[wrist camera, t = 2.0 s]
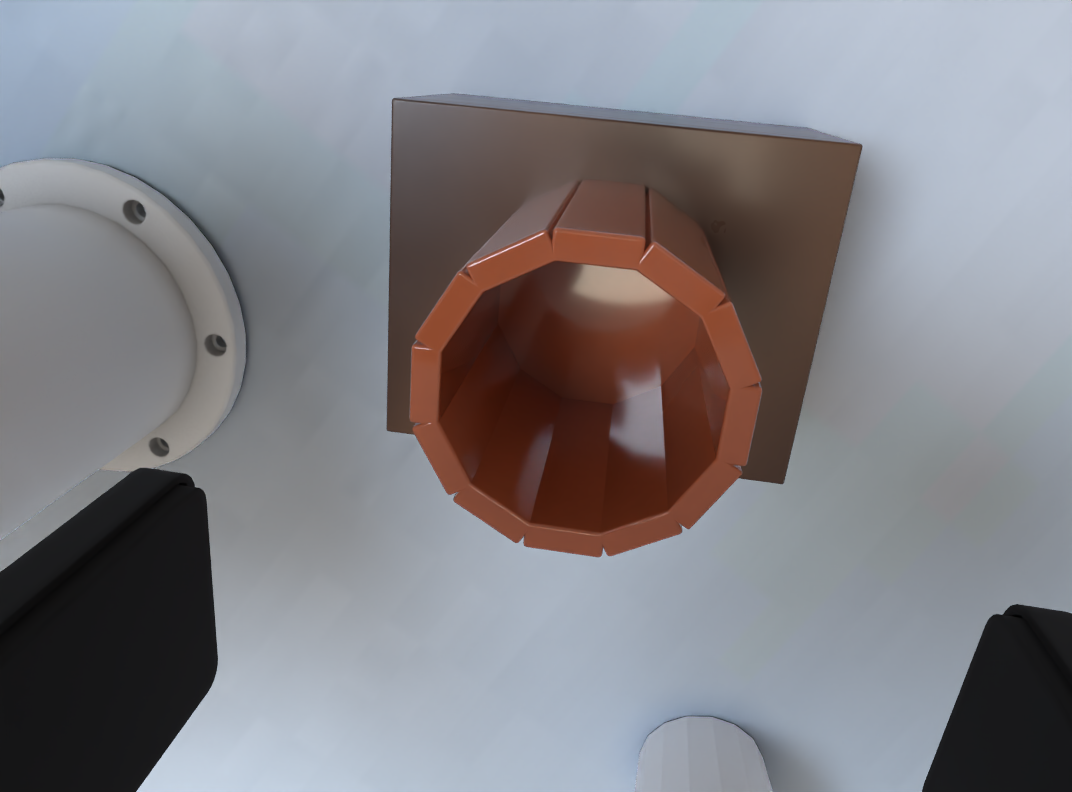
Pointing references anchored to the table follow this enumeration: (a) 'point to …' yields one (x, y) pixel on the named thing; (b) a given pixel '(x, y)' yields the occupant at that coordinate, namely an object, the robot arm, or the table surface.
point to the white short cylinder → (700, 758)
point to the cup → (587, 374)
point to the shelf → (657, 162)
